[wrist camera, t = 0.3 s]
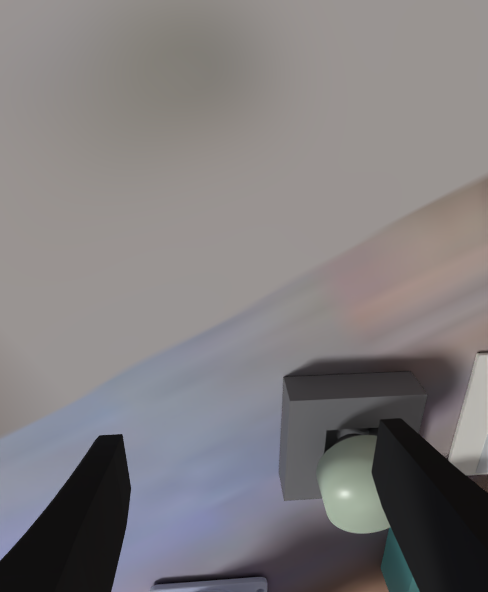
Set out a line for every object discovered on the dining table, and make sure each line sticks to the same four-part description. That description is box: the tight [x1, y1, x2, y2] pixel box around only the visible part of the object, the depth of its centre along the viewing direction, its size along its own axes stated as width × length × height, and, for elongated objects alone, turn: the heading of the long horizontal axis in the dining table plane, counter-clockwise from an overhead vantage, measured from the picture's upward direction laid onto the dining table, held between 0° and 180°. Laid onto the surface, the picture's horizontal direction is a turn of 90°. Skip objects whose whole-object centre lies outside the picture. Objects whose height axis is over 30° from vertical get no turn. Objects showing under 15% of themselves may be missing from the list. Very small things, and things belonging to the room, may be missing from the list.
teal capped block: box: [381, 527, 419, 592], centre depth 28 cm, size 9×4×4 cm, turn 0°
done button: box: [316, 433, 390, 533], centre depth 22 cm, size 4×4×3 cm
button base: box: [279, 371, 428, 501], centre depth 24 cm, size 7×7×2 cm
